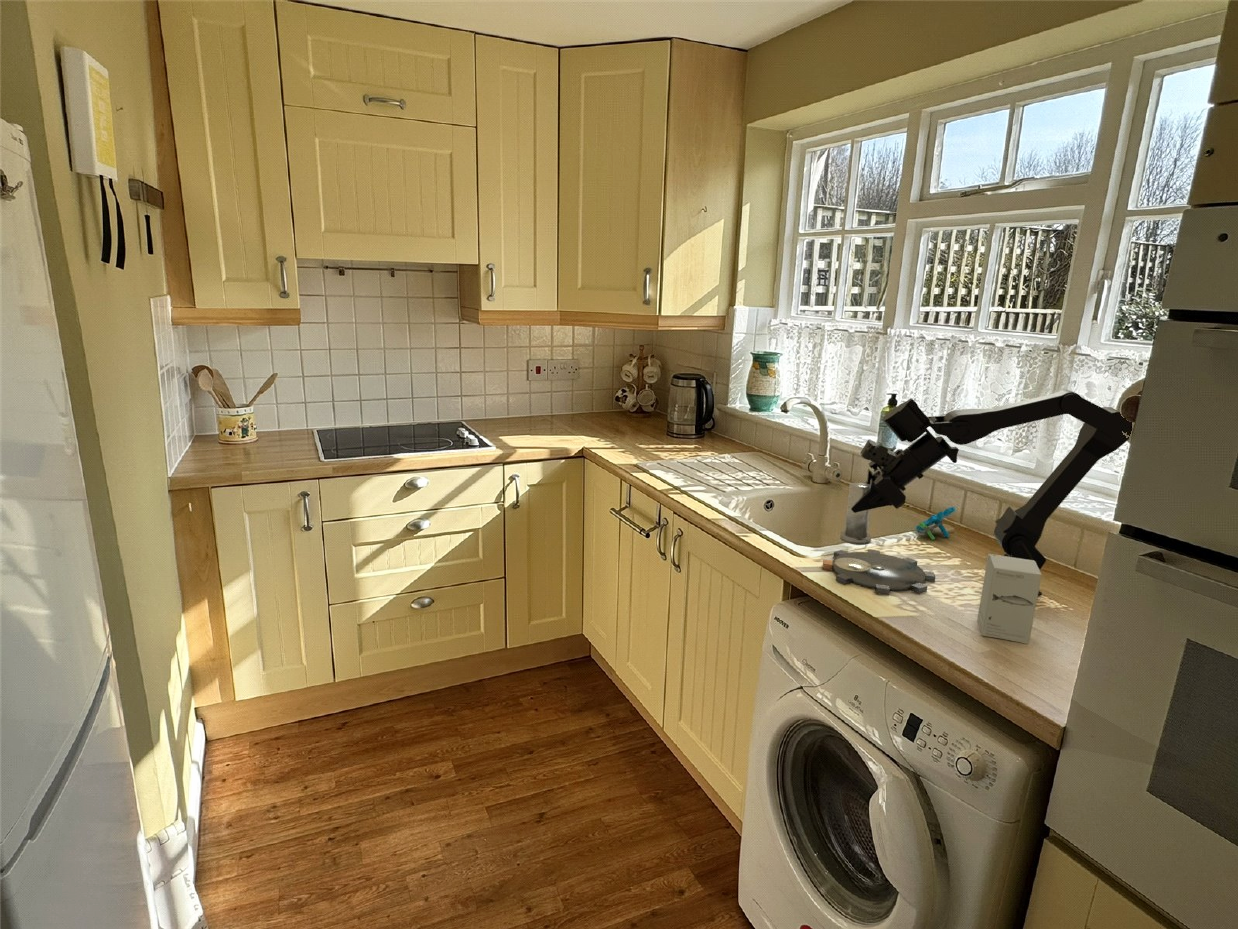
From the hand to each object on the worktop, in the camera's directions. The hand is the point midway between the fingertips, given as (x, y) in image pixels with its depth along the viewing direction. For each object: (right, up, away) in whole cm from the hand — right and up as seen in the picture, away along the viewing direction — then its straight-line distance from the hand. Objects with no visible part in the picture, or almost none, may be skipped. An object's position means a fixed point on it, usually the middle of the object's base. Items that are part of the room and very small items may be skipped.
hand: (852, 507), depth 147 cm
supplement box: (+19, -20, -22) cm, 35 cm away
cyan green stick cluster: (+28, -8, +27) cm, 40 cm away
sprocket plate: (+6, -14, +2) cm, 15 cm away
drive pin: (+1, -7, +1) cm, 7 cm away
